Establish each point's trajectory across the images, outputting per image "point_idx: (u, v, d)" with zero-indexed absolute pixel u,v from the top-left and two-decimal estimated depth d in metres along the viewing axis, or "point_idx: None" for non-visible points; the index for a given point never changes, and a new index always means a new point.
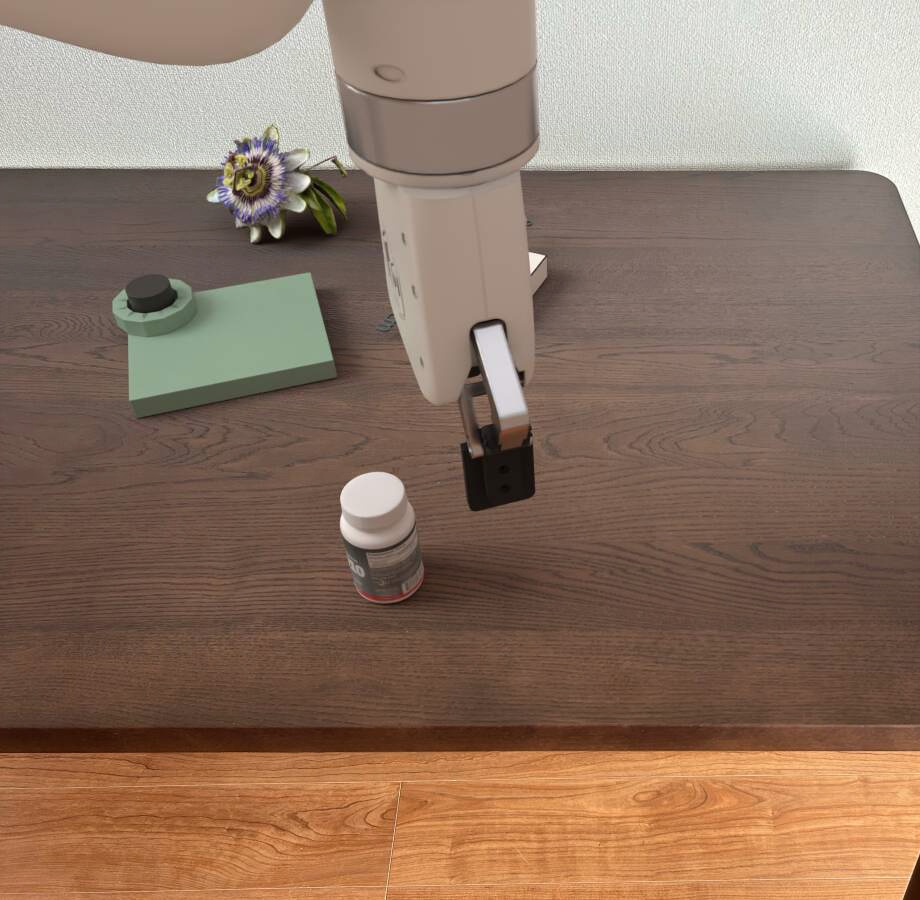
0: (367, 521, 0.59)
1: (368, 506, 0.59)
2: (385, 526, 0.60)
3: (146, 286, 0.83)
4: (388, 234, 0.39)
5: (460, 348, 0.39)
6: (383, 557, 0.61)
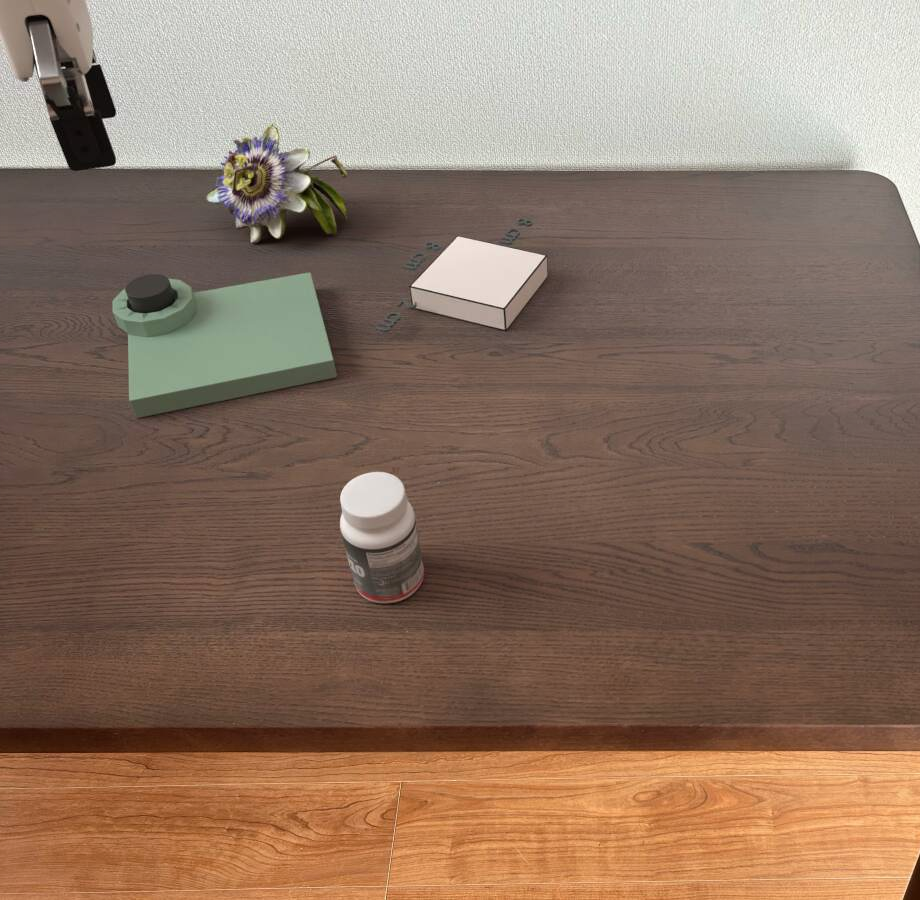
0: (367, 521, 0.59)
1: (368, 506, 0.59)
2: (385, 526, 0.60)
3: (146, 286, 0.83)
4: None
5: (21, 34, 0.63)
6: (383, 557, 0.61)
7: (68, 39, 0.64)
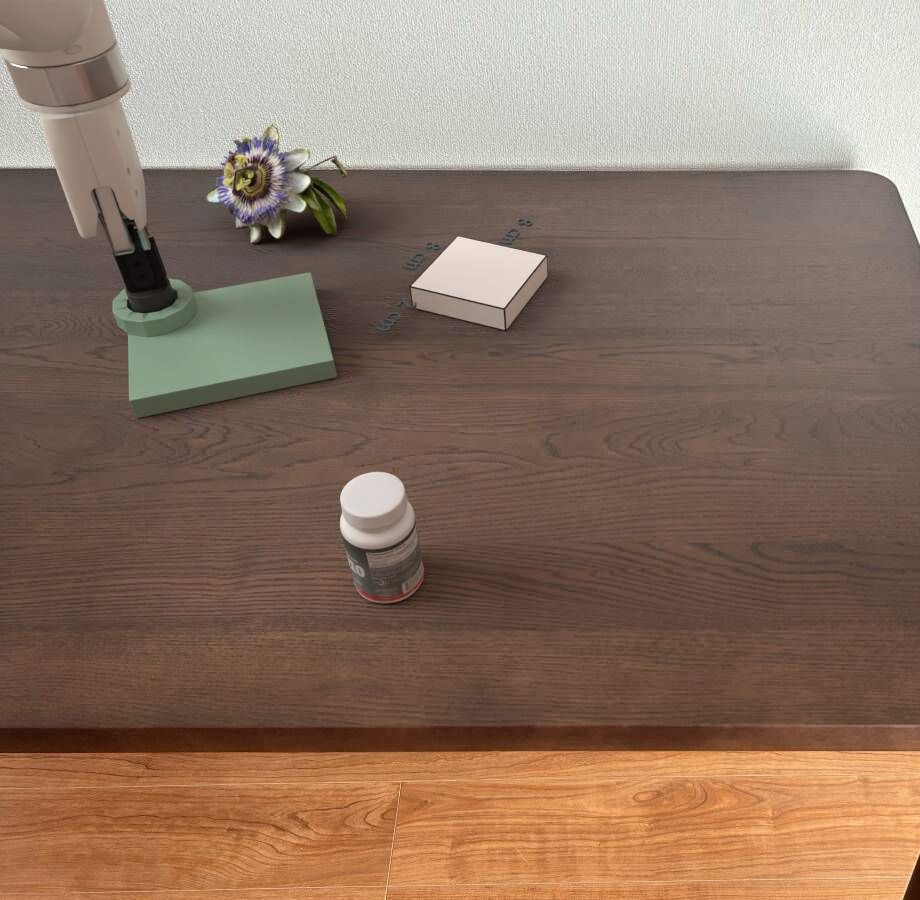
0: (367, 521, 0.59)
1: (368, 506, 0.59)
2: (385, 526, 0.60)
3: None
4: None
5: (88, 203, 0.72)
6: (383, 557, 0.61)
7: (128, 205, 0.73)
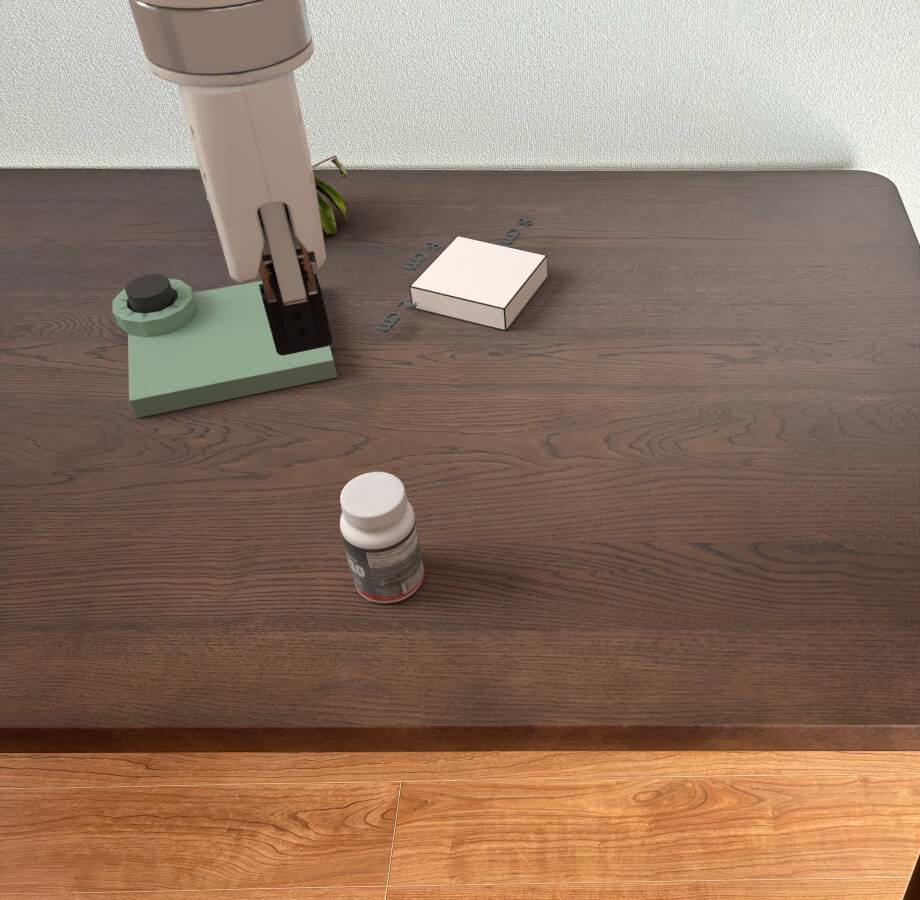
0: (367, 521, 0.59)
1: (368, 506, 0.59)
2: (385, 526, 0.60)
3: (146, 286, 0.83)
4: None
5: (251, 228, 0.46)
6: (383, 557, 0.61)
7: (308, 229, 0.47)
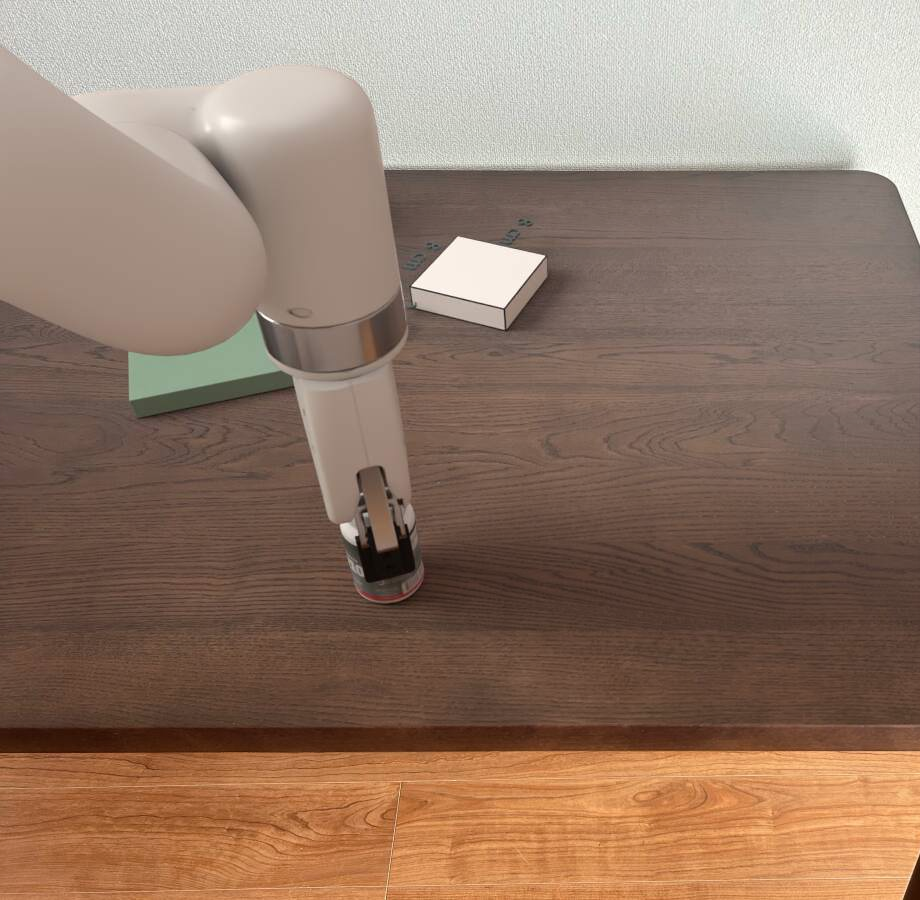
0: (367, 521, 0.59)
1: None
2: None
3: None
4: None
5: (350, 487, 0.53)
6: None
7: (399, 483, 0.54)
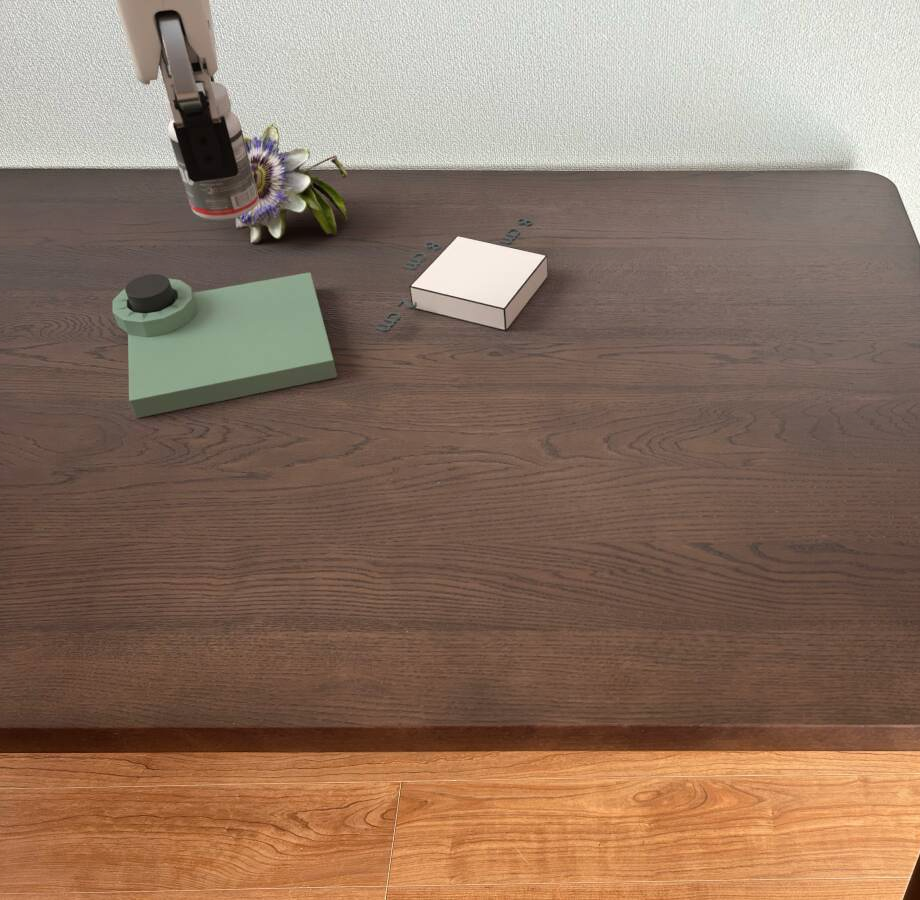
0: None
1: None
2: None
3: (146, 286, 0.83)
4: None
5: (149, 32, 0.57)
6: None
7: (198, 37, 0.58)
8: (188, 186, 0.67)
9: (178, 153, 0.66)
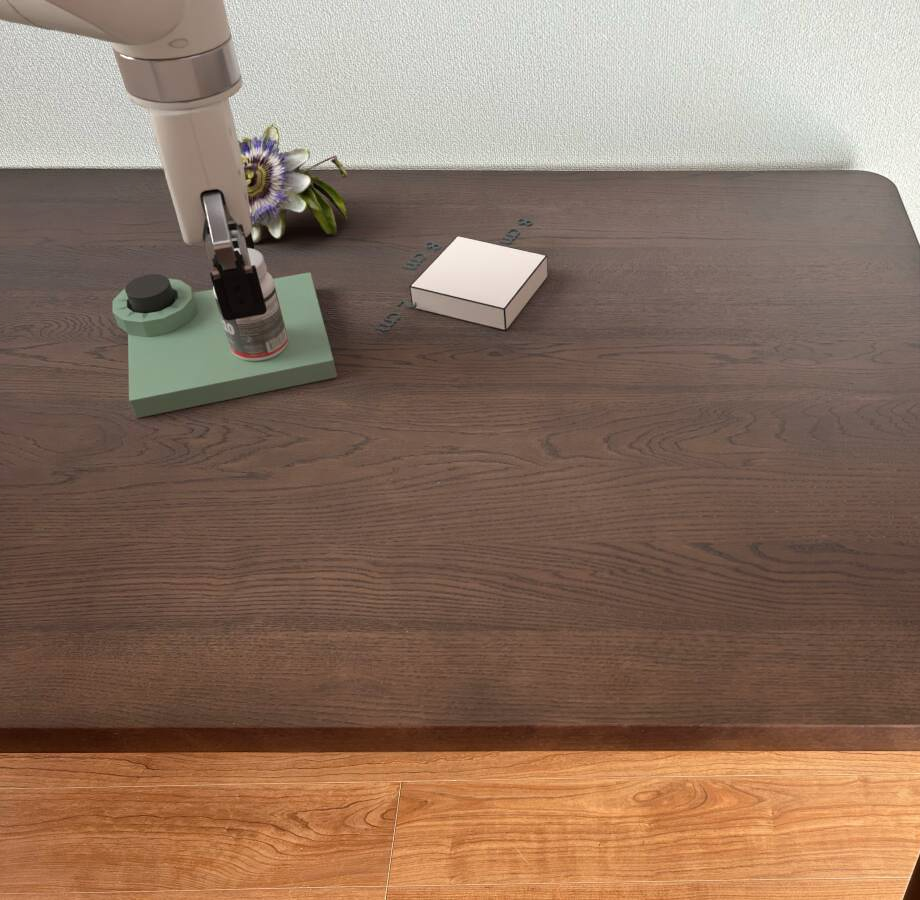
0: None
1: None
2: None
3: (146, 286, 0.83)
4: None
5: (196, 207, 0.67)
6: None
7: (237, 209, 0.68)
8: (229, 335, 0.79)
9: None
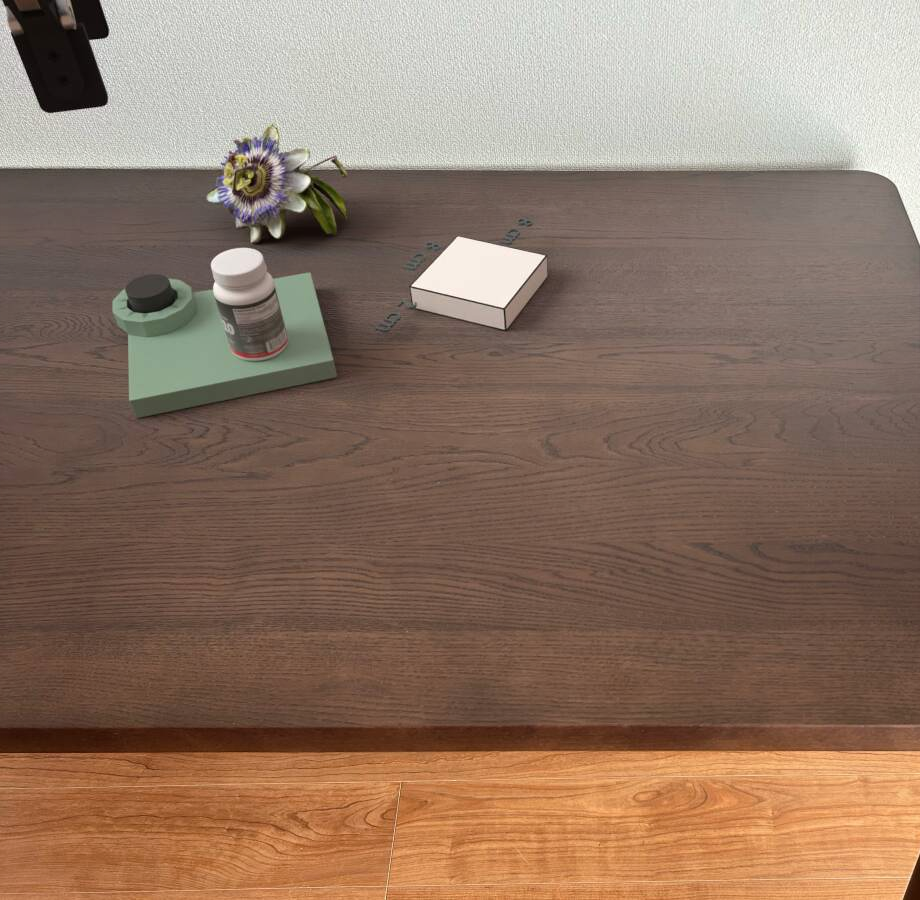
0: (231, 279, 0.75)
1: (232, 268, 0.75)
2: (246, 285, 0.75)
3: (146, 286, 0.83)
4: None
5: None
6: (247, 314, 0.77)
7: None
8: (229, 335, 0.79)
9: (222, 310, 0.77)
